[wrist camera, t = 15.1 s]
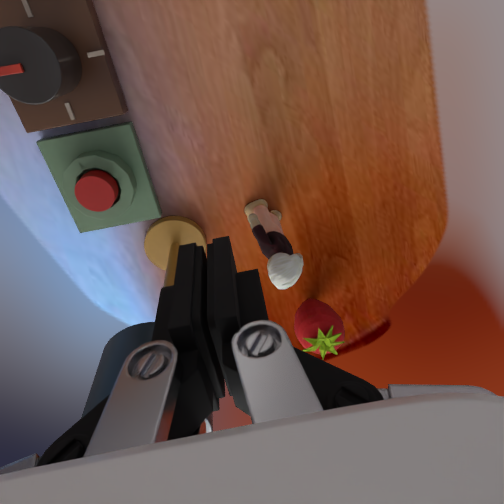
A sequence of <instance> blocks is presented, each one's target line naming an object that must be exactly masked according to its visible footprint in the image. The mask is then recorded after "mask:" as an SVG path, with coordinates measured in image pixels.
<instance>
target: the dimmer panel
mask: <svg viewBox="0 0 504 504" xmlns="http://www.w3.org/2000/svg"><path fill="white" fill-rule="evenodd" d="M6 26H28V27H46V28H50V29H53V30H55V31H57V32H59V33H60V34H62V35H63V36H65V37H66V38H67V39H68V40H69V41H70V42H71V44H72V45H73V46H74V48H75V49H76V51H77V53H78V55H79V58H80V61H81V66H82V75H81V79H80V82H79V84H78V85H77V87H76V88H75V89H74V90H73V91H71V92H69V93H67V94H65V95H63V96H60V97H58V98H56V99H53V100H51V101H49V102H46V103H43V104H38V105H31V104H26V103H22V102H20V101H17V100H15V99H13V98H12V97H10V96H9V97H10V99H11V101H12V103H13V105H14V107H15V109H16V111H17V113H18V115H19V117H20V119H21V122H22V124H23V126H24V128H25V130H26V132H27V133H30V132H35V131H40V130H46V129H51V128H56V127H61V126H67V125H72V124H77V123H82V122H87V121H93V120H98V119H103V118H108V117H114V116H119V115H124V114H125V113H126V112H127V111H128V108H127V105H126V102H125V99H124V96H123V93H122V90H121V87H120V84H119V81H118V78H117V74H116V71H115V68H114V65H113V62H112V59H111V56H110V53H109V50H108V47H107V44H106V41H105V38H104V35H103V32H102V29H101V26H100V23H99V20H98V17H97V14H96V11H95V8H94V5H93V2H92V0H0V28H2V27H6Z"/></svg>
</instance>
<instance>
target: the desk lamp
mask: <svg viewBox="0 0 504 504" xmlns="http://www.w3.org/2000/svg"><path fill="white" fill-rule="evenodd" d="M195 242H196V244H197V246H202V245H203V247H204V250H205V253H206V237H205V234H204V232H203V230H202V229H201V227H200V226H199V225H198V224H196V223H195V222H194V221H192V220H190V219H188V218H186V217H182V216H167V217H163V218H161V219H159V220H157V221H156V222H154V223H153V224H152V225H151V226H150V228H149V229H148V231H147V234H146V237H145V242H144V248H145V252H146V254H147V257H148V258H149V260H150V261H151V262H152V263H153V264H154V265H156V266H157V267H159V268H161V269H163V270H166V274H165V279H164V285H163V287H166V286H172V285H174V279H175V272H176V265H177V257H178V250H179V246H180V245H185V244H190V243H195ZM154 325H155V322H147V323H141V324H137V325H133V326H130V327H128V328H125V329H124V330H122V331H120V332H118V333H117V334H116V335H114V336H113V337H112V338H111V339H110V340H109V341H108V343H107V344H106V346H105V348H104V350H103V353H102V357H101V360H100V363H99V366H98V369H97V372H96V375H95V378H94V381H93V384H92V387H91V390H90V393H89V396H88V399H87V402H86V405H85V408H84V411H83V414H82V417H84V416H85V415H86V414H87V413H88V412H89V411H91V410H92V409H93V408H94V407H95V406H96V405H97V404H99V403H100V402H101V401H102V400H103V399H104V398H106V397H107V396H108V395H109V394H110V393H111V391H112V389H113V386H114V384H115V382H116V379H117V377H118V375H119V372H120V370H121V368H122V365H123V363H124V361H125V360H126V358H127V356H128V355H129V354H130V353H131V352H132V351H133V350H135V349H136V348H137V347H139V346H140V345H142V344H145V343H147V342H150V341H152V336H153V330H154ZM82 417H81V418H82ZM205 423H206V433H209V432H213V420H212V413H211V414H210V415H209V416H208V417H207V418H206V420H205Z"/></svg>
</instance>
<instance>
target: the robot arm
mask: <svg viewBox="0 0 504 504" xmlns="http://www.w3.org/2000/svg"><path fill="white" fill-rule="evenodd" d="M224 379H225V382H226V385H227V388H228V391H229V394H230V396H233V399H234V402H235V405H236V407H237V408H239V409H240V410H242V411H243V412H245V413H246V414H248V415H249V416H251V420H252V424H251V425H245V426H241V427H236V428H230V429H225V430H220V431H215V432H209V433H206V423H205V420H206V418H207V417H208V416H209V415H210V414H211V413H212V412H213V411H218V410H219V398H223V397H225V382H224ZM0 504H504V397H501V396H497V395H495V394H494V393H492V392H490V391H488V390H486V389H483V388H481V387H475V386H469V385H465V386H464V385H403V384H401V385H399V384H388V389H377V388H376V387H375V386H373V385H371V384H370V383H368V382H367V381H365V380H363V379H361V378H359V377H357V376H354V375H352V374H350V373H348V372H346V371H344V370H342V369H340V368H337V367H335V366H333V365H331V364H329V363H327V362H325V361H323V360H320V359H318V358H316V357H314V356H312V355H310V354H308V353H305V352H303V351H301V350H299V349H297V348H295V347H293V346H292V344H291V342H290V340H289V338H288V336H287V334H286V332H285V330H284V329H283V328H282V327H281V326H280V325H278V324H277V323H275V322H272V321H269V320H268V315H267V310H266V306H265V301H264V296H263V292H262V287H261V282H260V277H259V273H258V269H254V270H249V271H244V272H239V273H237V270H236V265H235V261H234V256H233V252H232V247H231V243H230V239H229V236H226V237H221V238H216V239H213V243H212V244H207V258H206V254H205V250H204V247H203V245H202V246H197V244H196V242H195V243H190V244H185V245H180V246H179V250H178V257H177V265H176V272H175V279H174V285H172V286H166V287H163V288H162V289H161V292H160V297H159V303H158V308H157V314H156V319H155V325H154V330H153V336H152V341H150V342H147V343H145V344H142V345H140V346H139V347H137V348H136V349H135V350H133V351H132V352H131V353H130V354H129V355H128V356H127V358H126V360H125V361H124V363H123V365H122V368H121V370H120V372H119V375H118V377H117V379H116V382H115V384H114V386H113V389H112V391H111V393H110V394H109V395H108V396H107V397H106V398H104V399H103V400H102V401H101V402H100V403H99V404H97V405H96V406H95V407H94V408H93V409H92V410H91V411H89V412H88V413H87V414H86V415H85V416H84V417H82V418H81V419H80V420H79V421H78V422H77V423H75V424H74V425H73V426H72V427H71V428H70V429H69V430H67V431H66V432H65V433H64V434H63V435H62V436H61V437H59V438H58V439H57V440H56V441H55V442H54V443H53V444H52V445H51V446H50V447H49V448H48V449H47V450H46V451H45V452H44V454H43V455H42V456H41V457H39V456H38V454H33V455H31V456H28V457H26V458H23V459H21V460H18V461H16V462H13V463H11V464H9V465H6V466H4V467H1V468H0Z"/></svg>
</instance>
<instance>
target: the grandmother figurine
mask: <svg viewBox="0 0 504 504" xmlns="http://www.w3.org/2000/svg"><path fill="white" fill-rule="evenodd" d="M267 208H268V204H267V202H266V201H265V200H263V199H259V200H256V201H254V202H252V203H250V204H248V205H247V206H246V207H245V214H246V215H247V217H248V221H249V223H250V226H251V228H252V232H253V234H254V236H255V238H256V239H257V241H258V243H259V246H260V248H261V250H262V253H263V254H264V255H265V256H266V257H267V258H268V259H269V261H268V264H267V269H268V272H269V273H268V275H269V277H270V279H271V281H272V283H273V284H274V285H275V286H276V287H277V288H278V289H287V288H289V287H291V286H293V285H294V284H295V283H296V281H297V280H298V278H299V277H300V275H301V272H302V267H303V257H302V255H301V254H299V253H296V254H293V249H292V246H291V244H290V243H289V241H288V239H287V238H286V237H285V236H284V234H283V231H282V228H281V225H280V220H281V217H282V215H281V213H280V212H278V211H277V210H272V211H271V212H269V211H268V209H267Z"/></svg>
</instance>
